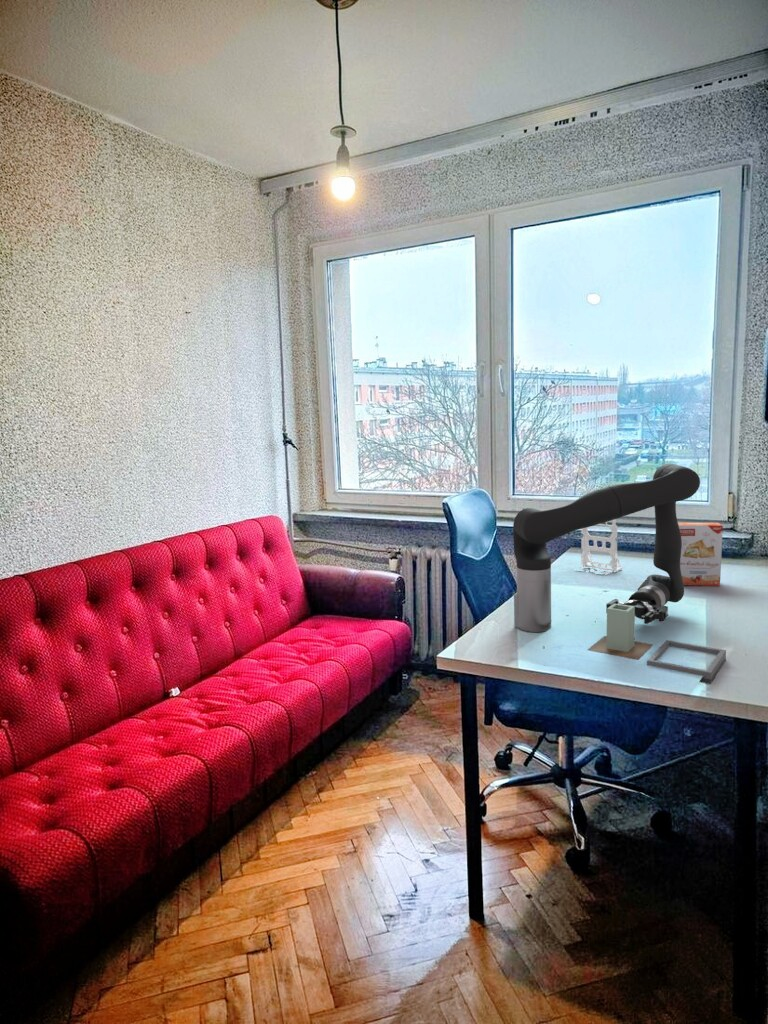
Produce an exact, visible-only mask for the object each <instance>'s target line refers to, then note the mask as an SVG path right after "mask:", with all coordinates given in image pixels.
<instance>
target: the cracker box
mask: <svg viewBox="0 0 768 1024" xmlns="http://www.w3.org/2000/svg"><path fill="white" fill-rule="evenodd" d="M678 525H679V529H680V533H681V539H682V548H681V558H680V569H681V575H682V579H683V584H684V586H700V585H701V586H702V587H703V586H704V587H706V586H710V587H720V586H721V571H722V570H721V569H722V553H723V552H722V550H723V527H724V526H723V524H720V523H719V522H678Z"/></svg>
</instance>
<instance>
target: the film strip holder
mask: <svg viewBox="0 0 768 1024" xmlns="http://www.w3.org/2000/svg"><path fill="white" fill-rule="evenodd" d="M616 521H617V519H614V520H611V521H608V522H610V523H611V524H608V522H605V524H604V523H601V524H597V525H596V526H603V527H609V529H610V530H611V534H610V536H609V537H606V536H598V535H591V534H590V532H589V531H588V529H589V528H590V527H587V528H583V529H580V530H581V531H580V532H581V535H582V537H581V539H580V541H581V542H580V543H581V546H580V547H581V548H580V549H581V550H582V552H581V557H580V558H581V559H580V560H581V561H580V562H581V563H580V564H581V567H582V566H583V567H584V566H585V567H592V568H591V569H594V568H599V569H600V570H602V569H603V570H611V571H612V572H614V571H616V572H614V573H618V572H617V571H619V570H623V567H622V566H621V563H620V558H619V555H618V541H616V540H617V538H618V525H617V522H616ZM590 540H591V541H593V545H590V544H589V541H590ZM598 541H599V542H601V546H598ZM606 542H608V543H610V546H609V547H607V545H606ZM591 551H593V552H601V553H608V554H610V555H609V556H610V558H611V560H610V561H609V563H608V562H607V563H606V562H600V561H593V558H592V555H591ZM593 564H595V565H596V564H597V566H595V565H593ZM590 565H592V566H590ZM601 565H603V566H605V567H601ZM608 566H611V568H610V567H608ZM581 567H578V568H574V570H576V569H579V568H581ZM585 570H586V571H588V569H585ZM595 572H596V571H594V572H593V573H595ZM612 572H609V573H611V574H613V573H612ZM619 572H620V571H619ZM606 573H607V574H609V573H608V572H606ZM605 575H606V574H605ZM605 575H604V576H605ZM609 575H610V574H609ZM606 576H607V575H606Z"/></svg>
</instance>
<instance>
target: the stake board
mask: <svg viewBox="0 0 768 1024" xmlns="http://www.w3.org/2000/svg"><path fill="white" fill-rule="evenodd" d="M652 646H654V644H653V643H648V642H647V643H646V642H640V641H637V640H634V647H633V648H632V649H631V650H629V651H628V652H624V651H619V650H613V649H608V648H607V635H604V636H603V637H601V638H600V639H599V640H598V641H596V642H595V643H594V644H593V645H591V646H590V647H589V648H587V651H591V652H595V653H600V654H605V655H606V654H607V655H611V656H617V657H621V658H627V659H631V660H640V659H641V658H642V657H643V656H644V655H645V654H646V653H647V652H648V651H649V650H650V649H651V647H652Z"/></svg>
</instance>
